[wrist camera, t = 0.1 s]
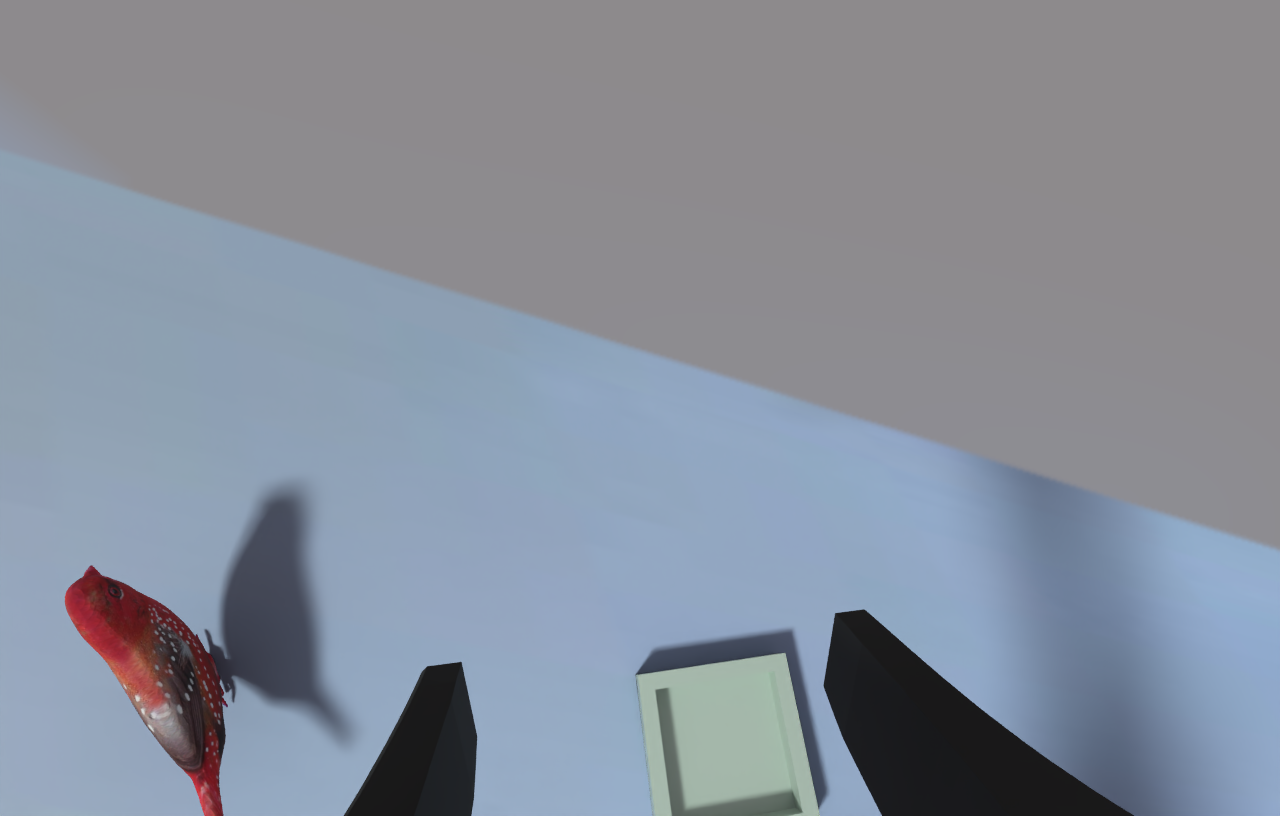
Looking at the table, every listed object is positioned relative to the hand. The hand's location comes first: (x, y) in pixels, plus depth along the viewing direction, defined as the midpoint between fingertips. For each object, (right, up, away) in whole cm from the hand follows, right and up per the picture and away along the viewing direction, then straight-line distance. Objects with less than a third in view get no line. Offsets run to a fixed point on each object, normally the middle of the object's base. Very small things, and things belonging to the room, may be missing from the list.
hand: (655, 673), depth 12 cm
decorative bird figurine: (-27, -14, +27) cm, 41 cm away
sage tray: (+5, -17, +28) cm, 33 cm away
